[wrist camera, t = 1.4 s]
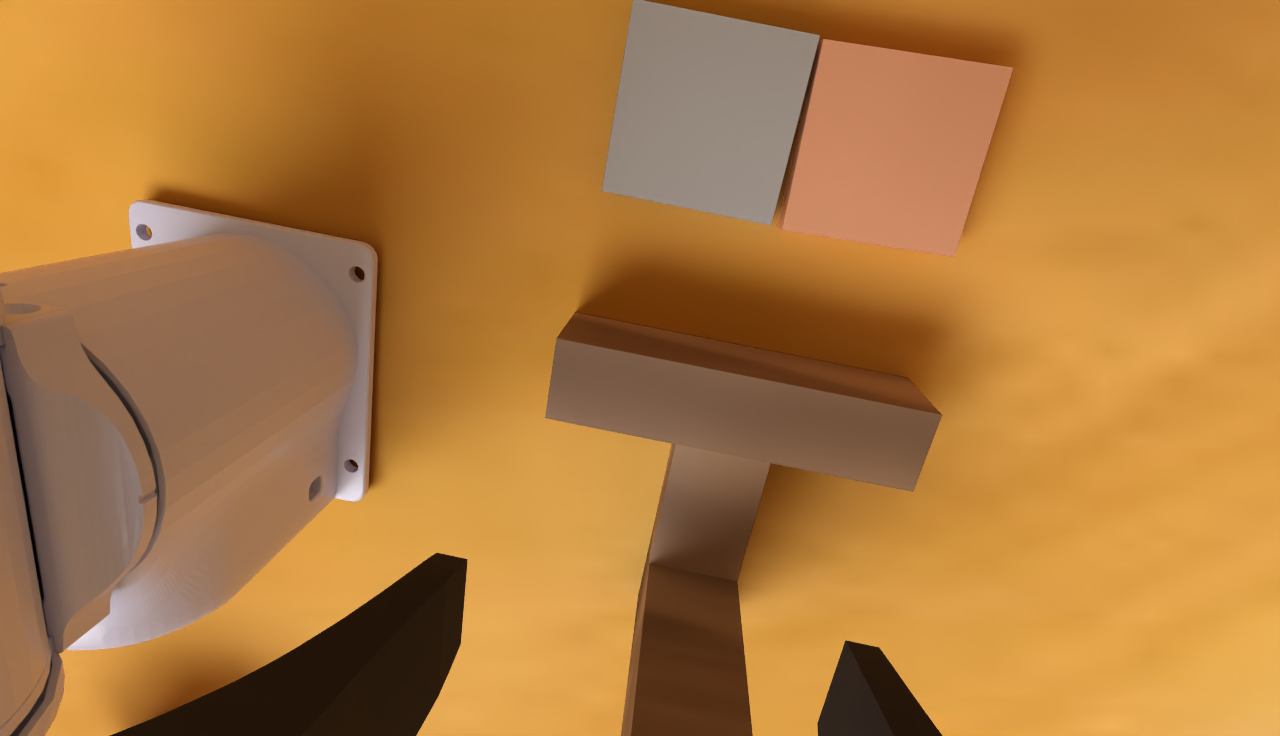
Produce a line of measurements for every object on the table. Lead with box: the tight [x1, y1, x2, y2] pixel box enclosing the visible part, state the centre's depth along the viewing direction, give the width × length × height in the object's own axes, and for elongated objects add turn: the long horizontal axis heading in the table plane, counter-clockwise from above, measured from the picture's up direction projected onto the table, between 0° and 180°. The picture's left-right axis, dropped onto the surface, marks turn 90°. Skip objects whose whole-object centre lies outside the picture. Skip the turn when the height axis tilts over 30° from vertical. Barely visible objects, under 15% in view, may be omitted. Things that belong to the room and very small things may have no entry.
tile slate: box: [602, 0, 820, 225], centre depth 18 cm, size 5×5×2 cm
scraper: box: [545, 312, 942, 736], centre depth 18 cm, size 10×11×9 cm
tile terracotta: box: [777, 39, 1013, 257], centre depth 18 cm, size 5×5×2 cm
